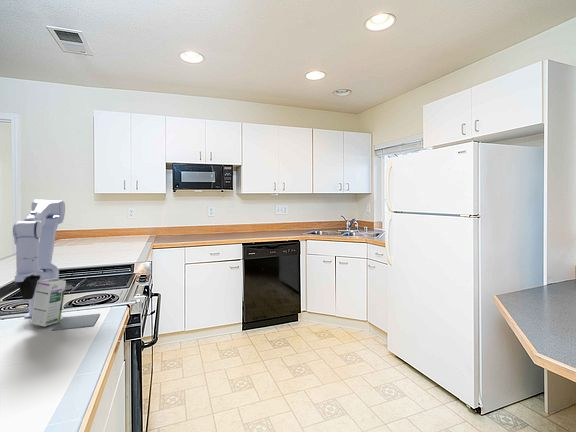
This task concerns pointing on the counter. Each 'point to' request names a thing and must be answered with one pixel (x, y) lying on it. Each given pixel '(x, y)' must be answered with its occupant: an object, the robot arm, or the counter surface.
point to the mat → (76, 322)
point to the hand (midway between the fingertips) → (28, 298)
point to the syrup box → (48, 301)
